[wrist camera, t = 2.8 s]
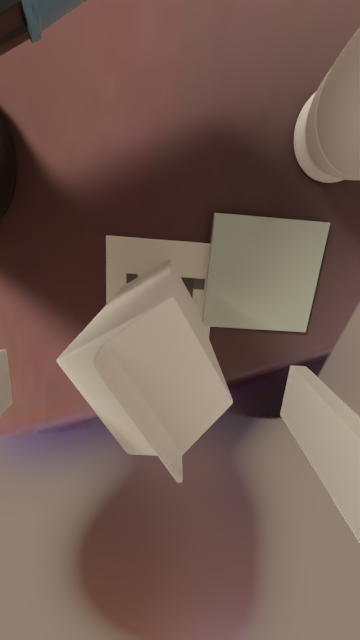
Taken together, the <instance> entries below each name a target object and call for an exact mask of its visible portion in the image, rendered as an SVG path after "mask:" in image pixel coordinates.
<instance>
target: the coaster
mask: <svg viewBox="0 0 360 640" xmlns="http://www.w3.org/2000/svg"><path fill="white" fill-rule="evenodd" d="M329 227H330V223H329V222H317V221H306V220H294V219H282V218H271V217H259V216H247V215H236V214H224V213H214V214H213V223H212V233H211V242H210V253H209V262H208V272H207V281H206V291H205V300H204V310H203V319H202V322H203V325H204V326H209V327H226V328H242V329H259V330H275V331H292V332H306V329H307V324H308V320H309V316H310V311H311V307H312V302H313V298H314V293H315V289H316V285H317V280H318V276H319V271H320V267H321V262H322V258H323V253H324V249H325V245H326V240H327V236H328V231H329Z"/></svg>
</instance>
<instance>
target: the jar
mask: <svg viewBox="0 0 360 640" xmlns="http://www.w3.org/2000/svg"><path fill="white" fill-rule="evenodd" d="M294 151H295V156H296V159H297V161H298V163H299V165H300V167H301V168H302V170H303V171H304V172H305V173H306V174H307V175H308V176H309V177H311V178H312V179H314V180H317V181H319V182H324V183H334V182H339V181H342V180H360V27H359V28H358V30H357V31H356V32H355V33H354V35H353V36H352V37H351V39H350V40H349V41H348V43H347V44H346V46H345V47H344V49H343V50H342V52H341V53H340V55H339V56H338V58H337V60H336V61H335V63H334V64H333V66H332V67H331V69H330V70H329V71H328V73H327V74H326V76H325V77H324V79H323V81H322V82H321V84H320V86H319V88H318V90H317V91H316V92H315V93H314V94H313V95H312V96H311V97H310V98H309V99H308V101H307V102H306V103H305V105H304V106H303V108H302V110H301V112H300V114H299V116H298V119H297V122H296V125H295V130H294Z"/></svg>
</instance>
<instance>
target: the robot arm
mask: <svg viewBox="0 0 360 640" xmlns="http://www.w3.org/2000/svg"><path fill="white" fill-rule="evenodd" d="M84 1H86V0H0V56H1V55H3V54H4V53H6V52H8V51H10V50H11V49H13V48H15V47H16V46H18V45H20V44H21V43H23V42H25V41H27V40H28V39H30V40H31V42H32V43H34V42H38V41H39V40H40V39H41V33H42V31H43V30H44V29H46V28H47V27H49V26H50V25H52V24H53V23H54V22H56V21H57V20H59V19H60V18H62V17H63V16H64V15H66V14H67V13H69V12H70V11H72V10H73V9H74V8H76V7H77V6H79V5H80V4H82V3H83V2H84ZM15 182H16V159H15V153H14V148H13V144H12V141H11V138H10V135H9V132H8V130H7V127H6V125H5V123H4V121H3V119H2V117H1V115H0V218H1V216H2V215H3V214H4V212H5V211H6V209H7V207H8V206H9V204H10V201H11V199H12V196H13V192H14V188H15ZM11 404H12V394H11V385H10V377H9V368H8V360H7V351H6V350H0V416H1V415H2V414H3V412H4V411H5V410H6V409H7V408H8V407H9V406H10V405H11ZM280 416H281V417H282V419H283V421H284V422H285V424H286V426H287V427H288V429H289V430H290V432H291V433H292V435H293V437H294V438H295V440H296V442H297V443H298V445H299V446H300V448H301V449H302V451H303V453H304V454H305V456H306V458H307V459H308V461H309V463H310V464H311V466H312V467H313V469H314V471H315V472H316V474H317V475H318V477H319V479H320V480H321V482H322V483H323V485H324V487H325V488H326V490H327V492H328V493H329V495H330V496H331V498H332V499H333V501H334V503H335V504H336V506H337V508H338V509H339V510H340V512H341V514H342V515H343V517H344V519H345V520H346V522H347V524H348V525H349V527H350V529H351V530H352V532H353V533H354V535H355V537H356V538H357V540H358V541H359V543H360V417H359V416H358V415H357V414H356V413H355V412H354V411H353V410H352V409H351V408H350V407H348V406H347V405H346V404H345V403H344V402H343V401H342V400H341V399H340V398H339V397H338V396H337V395H336V394H335V393H334V392H333V391H332V390H331V389H329V388H328V387H327V386H326V385H325V384H324V383H323V382H322V381H321V380H320V379H319V378H318V377H317V376H316V375H315V374H314V373H313V372H311V371H310V370H309V369H308V368H307V367H306V366H292V365H290V369H289V374H288V379H287V383H286V388H285V393H284V397H283V402H282V407H281V412H280Z"/></svg>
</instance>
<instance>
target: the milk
mask: <svg viewBox="0 0 360 640" xmlns="http://www.w3.org/2000/svg"><path fill="white" fill-rule="evenodd" d="M56 361H57V363H58V364H59V366H60V367H61V368H62V369H63V371H64V372H65V373H66V375H67V376H68V377H69V379H70V380H71V381H72V382H73V384H74V385H75V386H76V388H77V389H78V390H79V392H80V393H81V394H82V396H83V397H84V398H85V399H86V401H87V402H88V403H89V405H90V406H91V407H92V409H93V410H94V411H95V412H96V414H97V415H98V416H99V418H100V419H101V420H102V422H103V423H104V424H105V425H106V427H107V428H108V429H109V431H110V432H111V433H112V434H113V436H114V437H115V438H116V440H117V441H118V442H119V444H120V445H121V446H122V448H123V449H124V450H125V451H126V453H128V454H136V455H156V456H158V457H159V458H160V460H161V461H162V462H163V464H164V465H165V467H166V468H167V469H168V471H169V472H170V473H171V475H172V476H173V478H174V479H175V480H176V482H177V483H181V482H182V480H183V473H182V455H183V454H184V453H185V452H186V451H187V450H188V449H189V448H190V447H191V446H192V444H194V443H195V442H196V441H197V439H199V437H200V436H201V435H202V434H203V433H204V432H205V431H206V430H207V429H208V428H209V427H210V426H211V425H212V424H213V423H214V422H215V421H216V420H217V419H218V418H219V417H220V416H221V415H222V414H223V413H224V412H225V411H226V410H227V409H228V408H229V407H230V406H231V405H232V403H233V400H232V397H231V394H230V392H229V389H228V387H227V384H226V381H225V379H224V376H223V374H222V371H221V369H220V366H219V363H218V361H217V358H216V356H215V353H214V351H213V348H212V345H211V343H210V340H209V338H208V335H207V333H206V330H205V327H204V325H203V322H202V320H201V317H200V314H199V312H198V309H197V307H196V304H195V303H194V301H193V299H192V297H191V295H190V293H189V292H188V290H187V288H186V286H185V284H184V282H183V281H182V279H181V277H180V275H179V273H178V272H177V270H176V268H175V266H174V264H173V262H172V261H171V259H170V260H168V261H166V262H164V263H162V264H161V265H159V266H157V267H155V268H154V269H152V270H150V271H148V272H147V273H145V274H143V275H141V276H140V277H138V278H136V279H134V280H132V281H131V282H129V283H127V284H125V285H124V286H123V287H122V288H121V289H120V290H119V291H118V292H117V293H116V295H115V296H114V297H113V298H112V299H111V300H110V301H109V302H108V303H107V304H106V306H105V307H104V308H103V309H102V310H101V311H100V312H99V313H98V314H97V315H96V317H95V318H94V319H93V320H92V321H91V322H90V323H89V324H88V325H87V326H86V328H85V329H84V330H83V331H82V332H81V333H80V334H79V335H78V336H77V337H76V338H75V340H74V341H73V342H72V343H71V344H70V345H69V346H68V347H67V348H66V349H65V351H64V352H63V353H62V354H61V355H60V356H59V357H58V358H57V360H56Z"/></svg>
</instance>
